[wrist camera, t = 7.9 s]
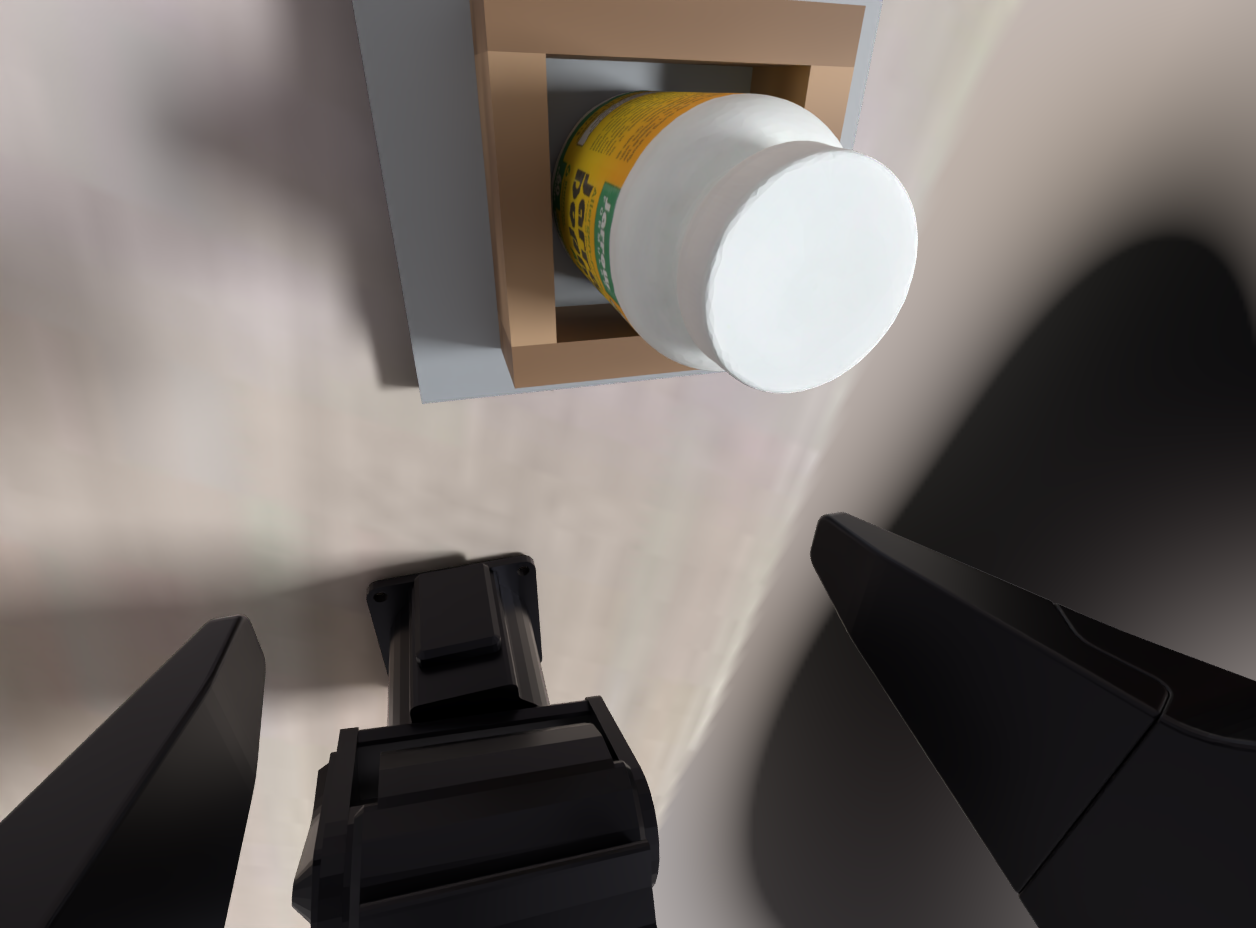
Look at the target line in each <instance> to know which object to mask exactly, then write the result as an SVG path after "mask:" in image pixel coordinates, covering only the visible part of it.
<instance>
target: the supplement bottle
mask: <svg viewBox="0 0 1256 928" xmlns="http://www.w3.org/2000/svg"><path fill="white" fill-rule="evenodd" d="M551 207H552V217H553V221H554V225H555V228H556V231H557V234H558V236H559V239H560V241H561V243H562V245H563V247H564V249H565V251H566V252H567V254H568V255H569V257H570V258H571V260H572V261H573V262H574V263H575V265H576V266H577V267H578V268H579V269H580V270H581V272H582V273H583V274H584V275H585V276H586V277H587V278H588V279H589V280H590V281H591V282H592V283H593V285H594V286H595V287H596V288H597V289H598V291H599V292H600V293H601V294H602V295H603V296H604V297H605V298H606V299H607V300H608V301H609V302H610V303H611V304H612V305H613V307H614V308H615V309H616V310H617V311H618V312H619V313H620V314H621V315H622V317H623V318H624V319H625V320H626V321H627V322H628V323H629V324H630V325H631V327H632V328H633V329H634V330H635V331H636V332H637V333H638V334H639V335H640V336H641V337H642V338H643V339H644V340H645V341H646V342H647V343H648V344H649V345H650V346H651V347H653V348H654V349H655V350H657V351H658V352H659V353H661V354H662V355H664V356H666V357H667V358H669V359H671V360H673V361H675V362H677V363H679V364H682V365H685V366H688V367H691V368H696V369H701V370H707V371H726V372H727V373H729V374H730V375H731V376H733V377H734V378H735V379H737V380H738V381H740V382H742V383H743V384H745V385H747V386H750V387H752V388H755V389H758V390H760V391H765V392H770V393H794V392H800V391H804V390H808V389H812V388H815V387H817V386H820V385H822V384H825V383H827V382H829V381H831V380H833V379H835V378H837V377H839V376H840V375H842V374H843V373H845V372H846V371H848V370H849V369H851V368H852V367H853V366H854V365H856V364H857V363H858V362H860V361H861V360H862V359H863V358H864V357H865V356H866V355H867V354H868V353H869V352H870V351H871V350H872V349H873V348H874V347H875V345H876V344H877V343H878V342H879V341H880V340H881V338H882V337H883V336H884V335H885V333H886V332H887V330H888V329H889V327H890V326H891V325H892V323H893V322H894V320H895V318H896V316H897V315H898V313H899V311H900V309H901V306H902V305H903V303H904V301H905V298H906V295H907V293H908V290H909V287H910V283H911V280H912V277H913V273H914V268H915V263H916V255H917V245H918V238H917V225H916V218H915V213H914V209H913V206H912V203H911V201H910V198H909V196H908V194H907V192H906V190H905V188H904V186H903V185H902V184H901V182H900V181H899V179H898V178H897V177H896V176H895V174H894V173H893V172H892V171H891V170H889V169H888V168H887V167H886V166H885V165H884V164H882V163H881V162H879V161H877V160H876V159H874V158H872V157H870V156H867V155H865V154H862V153H859V152H856V151H853V150H849V149H844V148H843V147H842V145H841V144H840V142H839V140H838V139H837V138H836V136H835V135H834V134H833V133H832V132H831V130H830V129H829V128H828V127H827V126H826V125H825V124H824V123H823V122H822V121H821V120H820V119H818V118H817V117H816V116H815V115H813V114H812V113H811V112H809V111H808V110H806V109H804V108H802V107H801V106H799V105H797V104H795V103H793V102H790V101H788V100H785V99H781V98H777V97H773V96H769V95H763V94H750V93H704V92H670V91H648V90H641V91H633V92H627V93H622V94H619V95H616V96H613V97H611V98H609V99H607V100H605V101H603V102H601V103H600V104H598V105H596V106H595V107H593V108H592V109H591V110H589V111H588V112H587V113H586V114H585V115H583V117H582V118H581V119H580V120H579V121H578V122H577V124H576V125H575V126H574V128H573V129H572V131H571V132H570V133H569V135H568V137H567V139H566V140H565V142H564V144H563V146H562V149H561V151H560V153H559V155H558V158H557V161H556V164H555V168H554V172H553V177H552V182H551Z"/></svg>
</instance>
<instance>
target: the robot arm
mask: <svg viewBox="0 0 1256 928" xmlns="http://www.w3.org/2000/svg"><path fill="white" fill-rule="evenodd" d="M810 557H811V561H812V564H813V567H814V568H815V571H816V573H817V574H818V576H819V578H820V580H821V582H822V584H823V586H824V588H825V590H826V592H827V594H828V596H829V598H830V600H831V602H832V604H833V606H834V607H835V609H836V611H837V613H838V615H839V617H840V619H841V621H842V623H843V625H844V626H845V628H846V630H847V632H848V634H849V636H850V637H851V639H852V641H853V642H854V644H855V646H856V647H857V649H858V650H859V652H860V653H861V655H862V656H863V658H864V659H865V661H866V662H867V664H868V666H869V667H870V669H871V670H872V672H873V673H874V675H875V677H876V678H877V679H878V681H879V683H880V684H881V686H882V687H883V689H884V690H885V692H886V693H887V695H888V696H889V698H890V700H891V701H892V703H893V704H894V706H895V707H896V709H897V710H898V712H899V713H900V715H901V716H902V718H903V719H904V721H905V723H906V724H907V726H908V727H909V729H910V730H911V731H912V733H913V735H914V736H915V738H916V740H917V741H918V743H919V744H920V746H921V747H922V749H923V750H924V752H925V753H926V755H927V757H928V758H929V759H930V761H931V763H932V764H933V766H934V767H935V769H936V770H937V772H938V773H939V775H940V777H941V778H942V780H943V781H944V783H945V784H946V786H947V787H948V789H949V790H950V792H951V793H952V795H953V796H954V798H955V800H956V801H957V802H958V804H959V806H960V807H961V809H962V810H963V812H964V813H965V815H966V816H967V818H968V820H969V821H970V823H971V824H972V826H973V827H974V829H975V830H976V832H977V833H978V835H979V837H980V838H981V840H982V841H983V843H984V844H985V846H986V847H987V849H988V850H989V852H990V853H991V855H992V856H993V858H994V860H995V861H996V863H997V864H998V866H999V867H1000V869H1001V870H1002V872H1003V873H1004V875H1005V877H1006V878H1007V880H1008V881H1009V883H1010V884H1011V886H1012V887H1013V889H1014V890H1015V892H1016V893H1019V894H1018V897H1019V899H1020V900H1021V902H1022V903H1023V905H1024V906H1025V908H1026V909H1027V911H1028V912H1029V914H1030V915H1031V917H1032V918H1033V920H1034V922H1035V923H1036V925H1037V926H1038V928H1256V681H1254V680H1251V679H1249V678H1246V677H1244V676H1241V675H1238V674H1235V673H1233V672H1230V671H1227V670H1225V669H1222V668H1219V667H1217V666H1214V665H1211V664H1209V663H1206V662H1203V661H1200V660H1198V659H1195V658H1193V657H1190V656H1187V655H1184V654H1182V653H1179V652H1176V651H1174V650H1171V649H1169V648H1166V647H1163V646H1161V645H1158V644H1155V643H1153V642H1150V641H1148V640H1145V639H1142V638H1140V637H1137V636H1135V635H1132V634H1129V633H1127V632H1124V631H1122V630H1119V629H1117V628H1114V627H1112V626H1109V625H1107V624H1105V623H1102V622H1099V621H1097V620H1095V619H1092V618H1090V617H1088V616H1085V615H1083V614H1080V613H1078V612H1076V611H1073V610H1071V609H1069V608H1067V607H1064V606H1062V605H1060V604H1053V602H1052V601H1050V600H1048V599H1045V598H1043V597H1041V596H1038V595H1036V594H1034V593H1031V592H1029V591H1027V590H1024V589H1022V588H1019V587H1017V586H1015V585H1013V584H1010V583H1008V582H1006V581H1003V580H1001V579H999V578H996V577H994V576H992V575H989V574H987V573H985V572H982V571H980V570H977V569H975V568H973V567H971V566H968V565H966V564H964V563H961V562H959V561H957V560H954V559H952V558H950V557H947V556H945V555H943V554H940V553H938V552H936V551H933V550H931V549H929V548H926V547H924V546H922V545H919V544H917V543H915V542H912V541H910V540H908V539H905V538H903V537H900V536H898V535H896V534H894V533H891V532H889V531H887V530H884V529H882V528H880V527H877V526H875V525H873V524H870V523H868V522H866V521H864V520H861V519H859V518H857V517H854V516H852V515H850V514H847V513H844V512H837V513H832V514H826V515H823V516H821V517H820V519H819V520H818V523H817V527H816V531H815V535H814V538H813V542H812V546H811V551H810ZM522 566H527V567H526V568H525V569H519V568H520V567H522ZM379 592H383V593H386V594H384V595H377V594H376V593H379ZM367 603H368V607H369V610H370V614H371V617H372V621H373V624H374V628H375V631H376V635H377V638H378V642H379V645H380V649H381V652H382V656H383V660H384V663H385V667H386V670H387V674H388V677H389V682H388V717H387V726H386V727H378V728H371V729H363V730H359V727H355V728H348V729H340V734H339V741H338V747H337V752H332V753H331V754H330V760H329V763H328V764H327V765H325V766H324V767H323V768H321V769H320V770H318V778H317V786H316V794H315V802H314V809H313V815H312V821H311V825H310V829H309V832H308V836H307V839H306V842H305V846H304V849H303V852H302V856H301V859H300V862H299V865H298V869H297V872H296V875H295V879H294V883H293V891H292V907H293V908H294V909H295V910H296V911H297V912H298V913H300V914H301V915H302V916H303V917H304V918H305V919H306V920H307V921H308V922H309V923H310V924H311V928H657V925H656V918H655V909H654V900H653V891H652V887H653V886H654V884H655V882H656V879H657V875H658V868H659V837H658V827H657V821H656V815H655V809H654V805H653V801H652V797H651V793H650V790H649V787H648V784H647V781H646V778H645V776H644V774H643V771H642V769H641V767H640V765H639V764H638V762H637V760H636V758H635V756H634V755H633V753H632V751H631V749H630V747H629V746H628V744H627V742H626V740H625V738H624V737H623V735H622V733H621V731H620V730H619V728H618V726H617V724H616V722H615V721H614V719H613V717H612V715H611V713H610V712H609V710H608V708H607V706H606V705H605V703H604V701H603V699H602V697H601V696H593V697H586V698H585V700H583V701H575V702H568V703H560V704H553V705H550V703H549V699H548V694H547V690H546V685H545V681H544V677H543V672H542V668H541V664H540V663H541V662H542V650H541V636H540V622H539V609H538V595H537V581H536V568H535V565H534V561H533V559H532V558H531V557H529V556H526V555H521V556H515V557H509V558H504V559H498V560H493V561H487V562H481V563H476V564H470V565H464V566H459V567H453V568H447V569H442V570H436V571H430V572H425V573H419V574H413V575H408V576H402V577H396V578H391V579H385V580H380V581H376V582H373V583H372V584H370V585H369V587H368V588H367ZM264 683H265V659H264V654H263V652H262V649H261V647H260V644H259V642H258V639H257V637H256V634H255V632H254V629H253V627H252V624H251V622H250V620H249V619H248V617H247V616H245V615H242V614H238V615H232V616H226V617H220V618H215V619H212V620H210V621H208V622H207V623H206V624H205V625H204V626H203V627H202V628H200V629H199V630H198V631H197V632H196V633H195V634H194V635H193V636H192V637H191V638H190V639H189V640H188V641H187V642H186V643H185V644H184V645H183V646H182V647H181V648H180V649H179V650H178V651H177V652H176V653H175V654H174V655H173V656H172V657H171V658H170V659H168V660H167V661H166V662H165V663H164V664H163V665H162V666H161V667H160V668H159V669H158V670H157V671H156V672H155V673H154V674H153V675H152V676H151V677H150V678H149V679H148V680H147V681H146V682H145V683H144V684H143V685H142V686H141V687H140V688H139V689H138V690H137V691H135V692H134V693H133V694H132V695H131V696H130V697H129V698H128V699H127V700H126V701H125V702H124V703H123V704H122V705H121V706H120V707H119V708H118V709H117V710H116V711H115V712H114V713H113V714H112V715H111V716H110V717H109V718H108V719H107V720H106V721H105V722H104V723H102V724H101V725H100V726H99V727H98V728H97V729H96V730H95V731H94V732H93V733H92V734H91V735H90V736H89V737H88V738H87V739H86V740H85V741H84V742H83V743H82V744H81V745H80V746H79V747H78V748H77V749H76V750H75V751H74V752H73V753H72V754H71V755H69V756H68V757H67V758H66V759H65V760H64V761H63V762H62V763H61V764H60V765H59V766H58V767H57V768H56V769H55V770H54V771H53V772H52V773H51V774H50V775H49V776H48V777H47V778H46V779H45V780H44V781H43V782H42V783H41V784H40V785H39V786H37V787H36V788H35V789H34V790H33V791H32V792H31V793H30V794H29V795H28V796H27V797H26V798H25V799H24V800H23V801H22V802H21V803H20V804H19V805H18V806H17V807H16V808H15V809H14V810H13V811H12V812H11V813H10V814H9V815H8V816H7V817H6V818H4V819H3V820H2V821H1V822H0V928H224V926H225V921H226V917H227V912H228V907H229V903H230V898H231V893H232V889H233V884H234V879H235V875H236V870H237V865H238V861H239V856H240V851H241V847H242V842H243V837H244V833H245V828H246V823H247V819H248V814H249V809H250V805H251V800H252V795H253V790H254V784H255V779H256V771H257V762H258V751H259V740H260V728H261V717H262V705H263V694H264Z"/></svg>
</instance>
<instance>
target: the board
mask: <svg viewBox="0 0 1256 928" xmlns="http://www.w3.org/2000/svg"><path fill="white" fill-rule="evenodd" d="M798 1H811V2H824V3H837V4H850V5H863V6H866V8H865V13H864V18H863V24H862V29H861V34H860V39H859V45H858V50H857V55H856V60H855V66H854V71H853V76H852V81H851V87H850V92H849V97H848V102H847V108H846V113H845V118H844V123H843V129H842V134H841V139H840V144H841V145H842V147H843V148H844V149H849V150H853V147H854V142H855V137H856V132H857V127H858V122H859V117H860V112H861V107H862V102H863V97H864V92H865V87H866V82H867V77H868V72H869V67H870V62H871V57H872V52H873V48H874V43H875V38H876V33H877V28H878V23H879V18H880V13H881V8H882V3H883V0H798ZM352 3H353V9H354V15H355V21H356V26H357V32H358V38H359V44H360V50H361V55H362V61H363V67H364V73H365V78H366V84H367V90H368V96H369V101H370V107H371V113H372V119H373V124H374V130H375V136H376V142H377V147H378V153H379V159H380V165H381V170H382V176H383V182H384V188H385V193H386V199H387V205H388V211H389V216H390V222H391V228H392V234H393V239H394V245H395V251H396V257H397V262H398V268H399V274H400V280H401V286H402V291H403V297H404V303H405V309H406V314H407V320H408V326H409V332H410V337H411V343H412V349H413V355H414V360H415V366H416V372H417V378H418V383H419V389H420V395H421V401H422V404H425V403H434V402H443V401H453V400H462V399H472V398H481V397H491V396H500V395H510V394H519V393H529V392H538V391H548V390H557V389H567V388H576V387H585V386H595V385H604V384H614V383H623V382H633V381H642V380H652V379H661V378H671V377H680V376H690V375H699V374H709V373H718V372H726V371H707V370H701V369H700V370H690V371H681V372H671V373H661V374H652V375H642V376H632V377H623V378H613V379H603V380H594V381H584V382H574V383H564V384H555V385H545V386H535V387H526V388H516V389H515V387H514V385H513V382H512V379H511V376H510V373H509V370H508V367H507V365H506V362H505V359H504V356H503V353H502V350H501V344H500V333H499V322H498V311H497V300H496V289H495V278H494V267H493V256H492V245H491V234H490V223H489V212H488V201H487V190H486V179H485V168H484V157H483V146H482V135H481V124H480V113H479V101H478V90H477V79H476V68H475V57H474V46H473V35H472V24H471V13H470V2H469V0H352ZM752 71H753V67H742V66H718V65H694V64H671V63H647V62H623V61H600V60H576V59H552V58H546V76H547V103H548V129H549V155H550V181H551V182H552V177H553V172H554V168H555V164H556V161H557V158H558V155H559V153H560V151H561V149H562V146H563V144H564V142H565V140H566V139H567V137H568V135H569V133H570V132H571V131H572V129H573V128H574V126H575V125H576V124H577V122H578V121H579V120H580V119H581V118H582V117H583V115H585V114H586V113H587V112H588V111H589V110H591V109H592V108H593V107H595V106H596V105H598V104H600V103H601V102H603V101H605V100H607V99H609V98H611V97H613V96H616V95H619V94H622V93H627V92H633V91H641V90H648V91H670V92H704V93H750V88H751V79H752ZM552 234H553V260H554V286H555V307H564V306H578V305H593V304H607V303H610V302H609V301H608V300H607V299H606V298H605V297H604V296H603V295H602V294H601V293H600V292H599V291H598V289H597V288H596V287H595V286H594V285H593V283H592V282H591V281H590V280H589V279H588V278H587V277H586V276H585V275H584V274H583V273H582V272H581V270H580V269H579V268H578V267H577V266H576V265H575V263H574V262H573V261H572V260H571V258H570V257H569V255H568V254H567V252H566V251H565V249H564V247H563V245H562V243H561V241H560V239H559V236H558V234H557V231H556V228H555V225H554V221H553V217H552Z"/></svg>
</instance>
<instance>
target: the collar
mask: <svg viewBox="0 0 1256 928" xmlns="http://www.w3.org/2000/svg"><path fill="white" fill-rule="evenodd" d="M469 2H470V13H471V24H472V35H473V46H474V57H475V68H476V79H477V90H478V101H479V113H480V124H481V135H482V146H483V157H484V168H485V179H486V190H487V201H488V212H489V223H490V234H491V245H492V256H493V267H494V278H495V289H496V300H497V311H498V322H499V333H500V344H501V350H502V353H503V356H504V359H505V362H506V365H507V367H508V370H509V373H510V376H511V379H512V382H513V385H514V387H515V389H516V388H526V387H535V386H545V385H555V384H564V383H574V382H584V381H594V380H603V379H613V378H623V377H632V376H642V375H652V374H661V373H671V372H681V371H690V370H700V369H696V368H691V367H688V366H685V365H682V364H679V363H677V362H675V361H673V360H671V359H669V358H667V357H666V356H664V355H662V354H661V353H659V352H658V351H657V350H655V349H654V348H653V347H651V346H650V345H649V344H648V343H647V342H646V341H645V340H644V339H643V338H642V337H641V336H640V335H639V334H638V333H637V332H636V331H635V330H634V329H633V328H632V327H631V325H630V324H629V323H628V322H627V321H626V320H625V319H624V318H623V317H622V315H621V314H620V313H619V312H618V311H617V310H616V309H615V308H614V307H613V305H612V304H611V303H607V304H593V305H578V306H564V307H555V286H554V260H553V234H552V207H551V181H550V155H549V129H548V103H547V76H546V58H552V59H576V60H600V61H623V62H647V63H671V64H694V65H718V66H742V67H753V71H752V79H751V88H750V94H763V95H769V96H773V97H777V98H781V99H785V100H788V101H790V102H793V103H795V104H797V105H799V106H801V107H802V108H804V109H806V110H808V111H809V112H811V113H812V114H813V115H815V116H816V117H817V118H818V119H820V120H821V121H822V122H823V123H824V124H825V125H826V126H827V127H828V128H829V129H830V130H831V132H832V133H833V134H834V135H835V136H836V138H837V139H838V140H839V142H840V139H841V134H842V129H843V123H844V118H845V113H846V108H847V102H848V97H849V92H850V87H851V81H852V76H853V71H854V66H855V60H856V55H857V50H858V45H859V39H860V34H861V29H862V24H863V18H864V13H865V8H866V6H863V5H850V4H837V3H824V2H811V1H798V0H469Z"/></svg>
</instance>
